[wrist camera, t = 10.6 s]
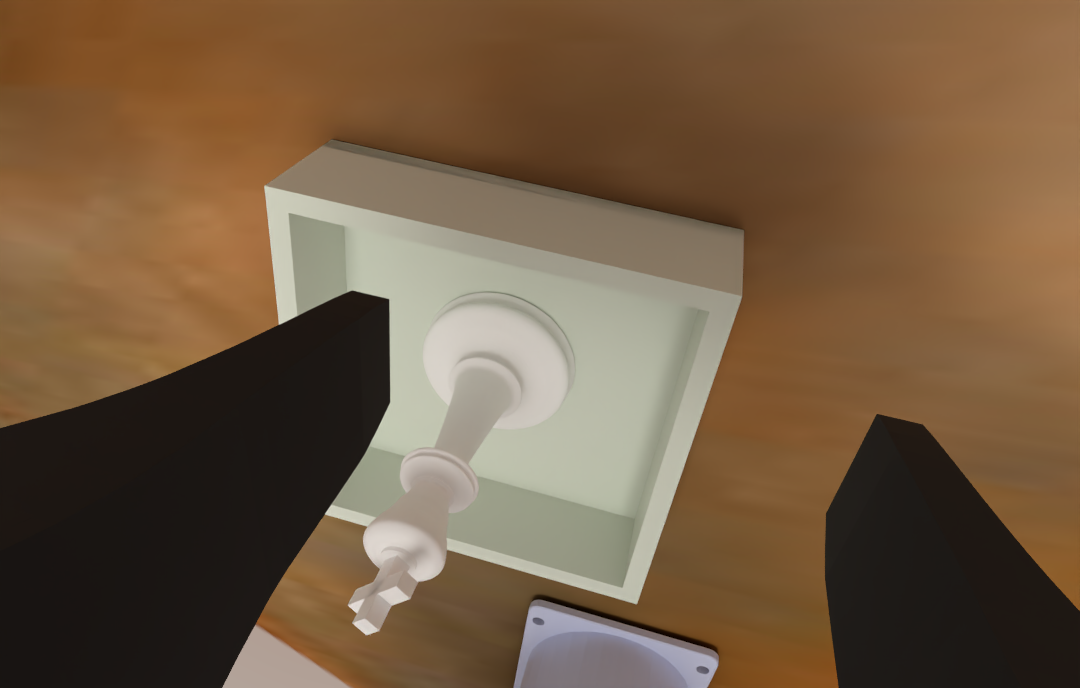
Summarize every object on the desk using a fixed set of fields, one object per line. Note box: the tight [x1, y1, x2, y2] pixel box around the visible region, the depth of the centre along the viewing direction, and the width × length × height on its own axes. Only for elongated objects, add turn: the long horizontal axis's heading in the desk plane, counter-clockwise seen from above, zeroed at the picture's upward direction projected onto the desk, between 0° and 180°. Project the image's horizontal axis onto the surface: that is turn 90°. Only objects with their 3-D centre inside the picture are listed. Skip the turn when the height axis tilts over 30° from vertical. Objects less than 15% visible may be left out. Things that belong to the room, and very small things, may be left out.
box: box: [265, 139, 744, 604], centre depth 22 cm, size 12×12×4 cm
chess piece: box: [348, 292, 575, 635], centre depth 19 cm, size 5×5×10 cm
